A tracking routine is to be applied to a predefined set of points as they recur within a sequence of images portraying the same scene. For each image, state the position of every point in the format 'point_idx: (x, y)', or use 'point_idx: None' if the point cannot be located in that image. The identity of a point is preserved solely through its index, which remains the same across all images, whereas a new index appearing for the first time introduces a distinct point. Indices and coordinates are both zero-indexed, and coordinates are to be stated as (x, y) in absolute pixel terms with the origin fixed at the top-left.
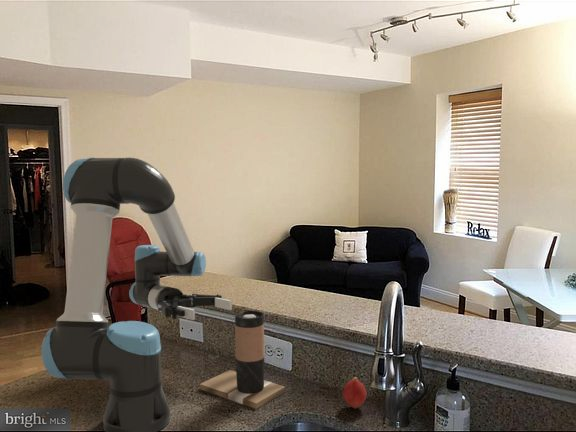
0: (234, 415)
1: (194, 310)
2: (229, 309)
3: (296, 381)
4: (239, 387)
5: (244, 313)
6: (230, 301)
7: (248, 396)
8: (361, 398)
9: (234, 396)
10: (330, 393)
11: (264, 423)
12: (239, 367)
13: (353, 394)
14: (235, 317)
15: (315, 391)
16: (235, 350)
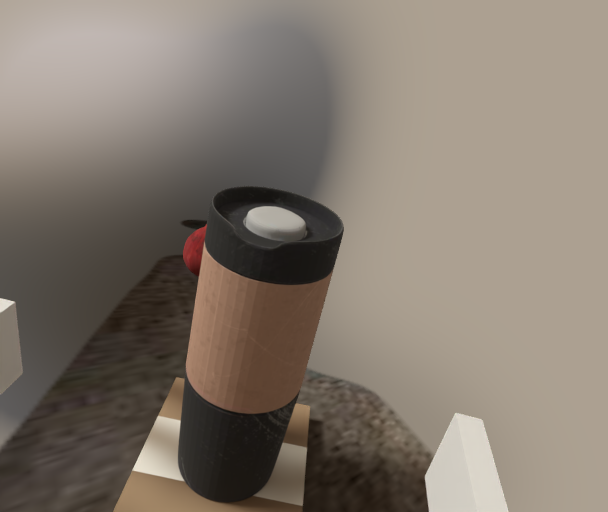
0: (367, 452)
1: (456, 419)
2: (15, 374)
3: (83, 384)
4: (274, 466)
5: (238, 236)
6: (9, 305)
7: (285, 439)
8: None
9: (303, 480)
10: (148, 311)
11: (351, 382)
12: (294, 406)
13: None
14: (329, 246)
15: (145, 335)
16: (286, 385)
